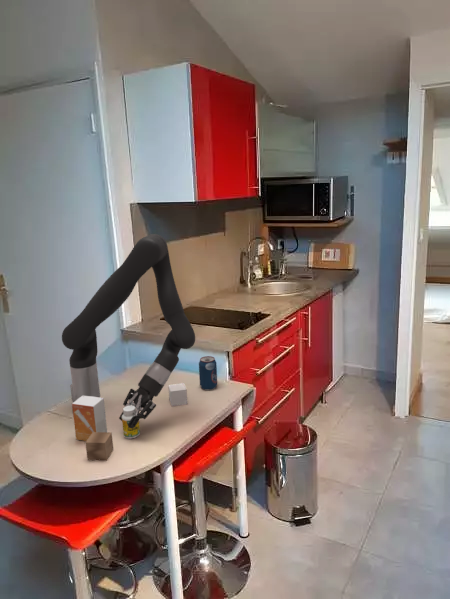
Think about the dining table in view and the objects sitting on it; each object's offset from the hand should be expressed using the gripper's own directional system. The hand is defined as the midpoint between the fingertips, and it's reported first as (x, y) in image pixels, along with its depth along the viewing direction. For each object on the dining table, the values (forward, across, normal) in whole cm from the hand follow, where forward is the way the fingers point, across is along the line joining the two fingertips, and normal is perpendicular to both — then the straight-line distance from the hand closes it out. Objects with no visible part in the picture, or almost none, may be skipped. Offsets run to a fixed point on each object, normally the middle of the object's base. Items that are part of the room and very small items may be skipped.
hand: (125, 423), depth 155 cm
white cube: (-15, -10, +22) cm, 28 cm away
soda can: (-26, -12, +33) cm, 44 cm away
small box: (+10, -8, -2) cm, 13 cm away
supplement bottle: (+2, 0, +5) cm, 5 cm away
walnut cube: (+11, +4, -4) cm, 13 cm away
